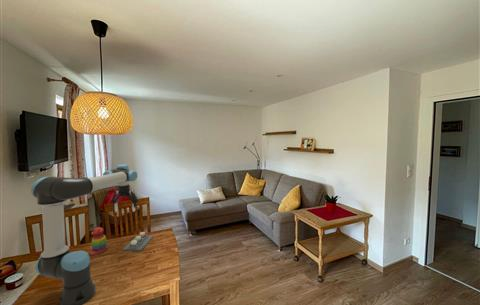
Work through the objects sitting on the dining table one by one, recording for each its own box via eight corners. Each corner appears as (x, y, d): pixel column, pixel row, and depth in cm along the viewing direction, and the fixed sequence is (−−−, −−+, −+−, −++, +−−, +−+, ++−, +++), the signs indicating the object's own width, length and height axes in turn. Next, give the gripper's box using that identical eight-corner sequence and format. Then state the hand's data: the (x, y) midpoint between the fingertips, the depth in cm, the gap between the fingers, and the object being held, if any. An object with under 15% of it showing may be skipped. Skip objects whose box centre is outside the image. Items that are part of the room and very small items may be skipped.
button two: (139, 241, 163) (139, 237, 162) (134, 241, 163) (134, 237, 162) (142, 239, 167) (142, 235, 166) (137, 239, 167) (137, 235, 166)
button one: (135, 246, 156) (135, 242, 156) (130, 246, 156) (129, 242, 156) (138, 243, 160) (137, 239, 160) (133, 243, 160) (132, 239, 160)
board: (141, 251, 155) (140, 247, 155) (122, 250, 155) (122, 247, 155) (152, 237, 175) (152, 234, 174) (136, 237, 175) (136, 234, 175)
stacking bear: (92, 248, 158) (91, 226, 157) (108, 245, 162) (106, 223, 161) (89, 256, 148) (87, 232, 147) (105, 252, 153) (104, 229, 151)
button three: (143, 237, 169) (143, 233, 169) (138, 237, 169) (138, 233, 169) (146, 235, 173) (145, 231, 173) (141, 235, 173) (141, 231, 173)
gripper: (142, 183, 163) (143, 209, 165) (110, 183, 162) (111, 209, 164) (137, 185, 155) (139, 213, 157) (104, 186, 155) (106, 213, 157)
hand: (125, 211), depth 161 cm, fingers open, 13 cm apart
